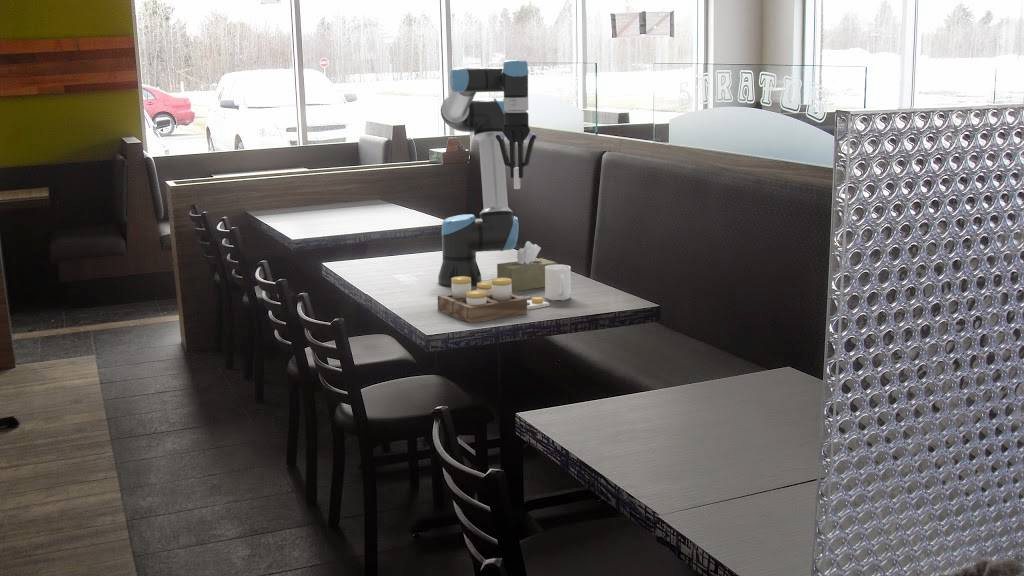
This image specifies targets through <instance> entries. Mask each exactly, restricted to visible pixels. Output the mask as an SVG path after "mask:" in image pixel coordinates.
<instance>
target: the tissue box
mask: <svg viewBox="0 0 1024 576" xmlns="http://www.w3.org/2000/svg"><path fill="white" fill-rule="evenodd" d="M541 249H542V247H541V246H540V245H538V244H536V243H534V244H533V243H532V242H531V241H529V240H528V241H526V242H525V244H524V246H523V248H521V247H520V248H519V249H518V250H517V256H516V258H517V261H509V262H502V263H497V264H496V268H497V269H496V270H497V272H496V274H497V277H496V278H510V279H512V292H517V291H525V290H532V289H533V290H534V289H537V288H538V289H539V288H545V266H548V265H558V263H557V262H555V261H553V260H548V259H546V258H541V257H540V258H537V256H538V254H539V252H540V251H541Z"/></svg>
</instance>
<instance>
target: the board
mask: <svg viewBox="0 0 1024 576" xmlns="http://www.w3.org/2000/svg"><path fill="white" fill-rule="evenodd" d="M473 290H474V289H471V291H473ZM523 297H524V296H520V295H517V294H514V293H512V299H511V300H505V301H495V300H492V295H487V296H486V300H487V303H486V304H480V305H473V306H472V305H469V304H467V300H466V299H461V300H458V299H453V298H452V293H446V294H440V295H437V311H439V312H441V313H444V314H446V315H449V316H452V317H454V318H457V319H459V320H462V321H464V322H466V321H467V323H469V324H472V323H473V322H474V323H479V322H486V321H492V320H496V319H497V320H498V319H504V318H507V317H508V318H509V317H514V316H520V315H521V316H522V315H528V310H527V299H526V298H523ZM474 323H473V324H474Z"/></svg>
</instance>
